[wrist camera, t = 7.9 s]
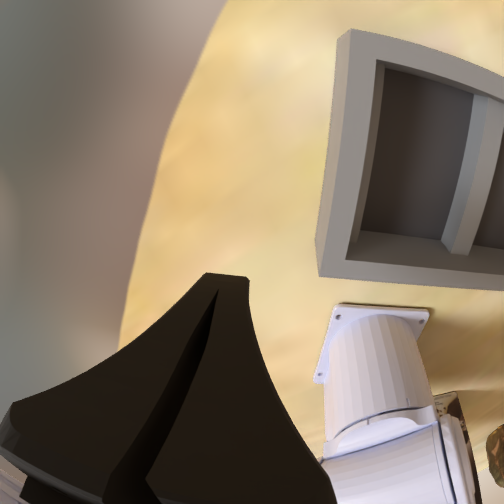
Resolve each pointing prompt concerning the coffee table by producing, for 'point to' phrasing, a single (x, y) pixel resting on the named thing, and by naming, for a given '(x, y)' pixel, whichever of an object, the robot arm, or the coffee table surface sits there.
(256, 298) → the coffee table surface
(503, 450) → the dark brown rounded lump
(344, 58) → the tray
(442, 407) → the coffee box
